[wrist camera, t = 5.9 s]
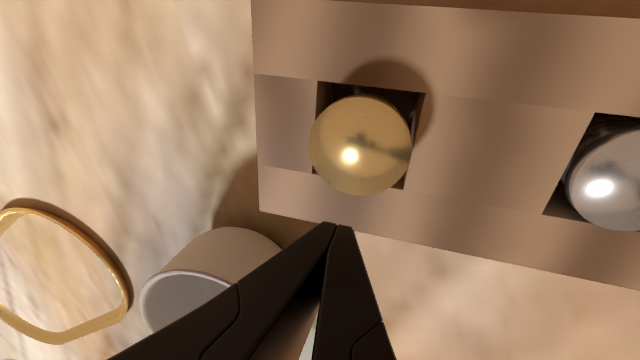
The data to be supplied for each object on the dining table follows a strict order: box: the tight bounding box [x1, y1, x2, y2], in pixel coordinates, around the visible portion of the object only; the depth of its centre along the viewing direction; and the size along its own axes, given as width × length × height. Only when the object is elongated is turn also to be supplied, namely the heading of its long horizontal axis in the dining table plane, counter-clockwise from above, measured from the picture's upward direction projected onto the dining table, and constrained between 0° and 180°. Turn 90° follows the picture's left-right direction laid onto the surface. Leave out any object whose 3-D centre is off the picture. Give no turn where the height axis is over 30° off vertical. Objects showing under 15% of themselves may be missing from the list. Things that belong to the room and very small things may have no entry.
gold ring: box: [0, 207, 129, 345], centre depth 40 cm, size 19×35×2 cm, turn 123°
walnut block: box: [251, 0, 640, 291], centre depth 16 cm, size 24×12×4 cm, turn 85°
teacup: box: [139, 227, 281, 334], centre depth 24 cm, size 14×11×8 cm
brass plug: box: [308, 93, 412, 196], centre depth 15 cm, size 5×5×3 cm
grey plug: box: [559, 117, 640, 231], centre depth 14 cm, size 5×5×3 cm
